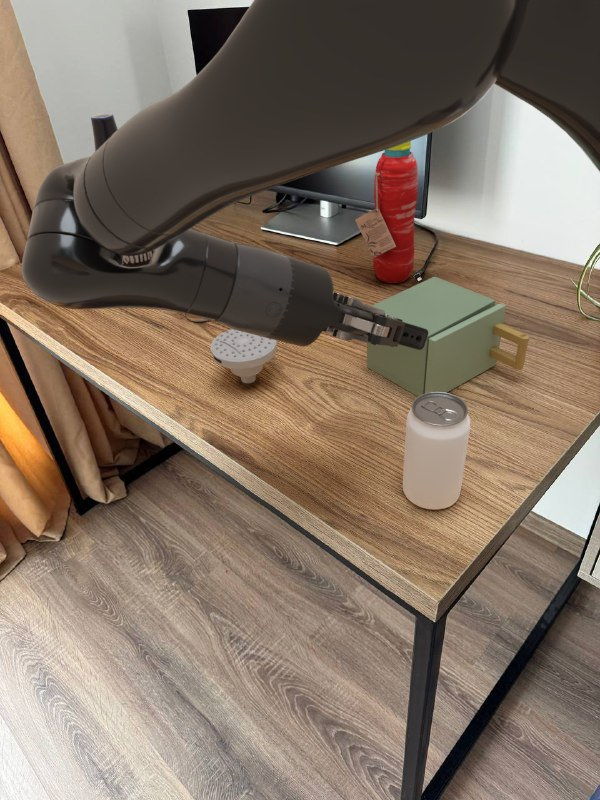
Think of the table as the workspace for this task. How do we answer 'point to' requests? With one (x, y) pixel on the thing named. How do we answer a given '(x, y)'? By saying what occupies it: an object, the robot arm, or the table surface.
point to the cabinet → (431, 310)
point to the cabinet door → (471, 350)
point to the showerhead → (243, 353)
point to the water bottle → (392, 215)
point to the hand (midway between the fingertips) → (421, 338)
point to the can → (435, 450)
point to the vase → (102, 132)
